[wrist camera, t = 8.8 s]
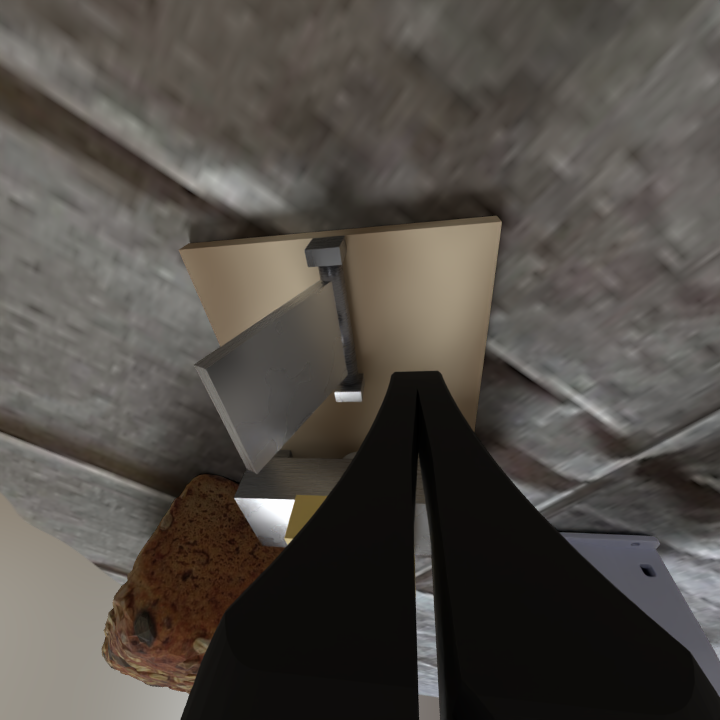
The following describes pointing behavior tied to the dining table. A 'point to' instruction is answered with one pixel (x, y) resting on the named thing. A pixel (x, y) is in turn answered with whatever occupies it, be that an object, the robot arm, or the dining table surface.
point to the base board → (367, 309)
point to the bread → (184, 585)
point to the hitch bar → (310, 475)
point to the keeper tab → (282, 368)
